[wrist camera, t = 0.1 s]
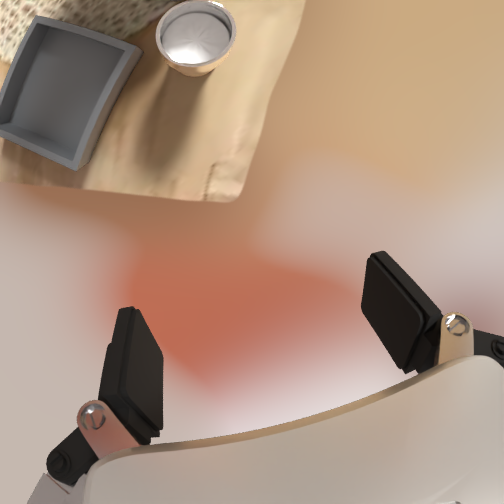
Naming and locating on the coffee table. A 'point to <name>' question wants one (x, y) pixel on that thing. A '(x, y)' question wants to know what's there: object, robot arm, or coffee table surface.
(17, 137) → the box
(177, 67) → the beer glass
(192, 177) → the coffee table surface
